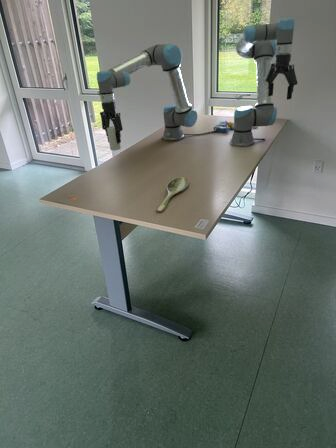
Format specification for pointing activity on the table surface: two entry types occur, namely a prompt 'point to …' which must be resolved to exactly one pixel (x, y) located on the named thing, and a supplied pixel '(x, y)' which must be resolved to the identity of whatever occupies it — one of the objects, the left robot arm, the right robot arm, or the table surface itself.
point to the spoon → (174, 190)
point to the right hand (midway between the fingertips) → (279, 97)
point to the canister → (112, 138)
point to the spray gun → (223, 126)
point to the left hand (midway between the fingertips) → (114, 142)
